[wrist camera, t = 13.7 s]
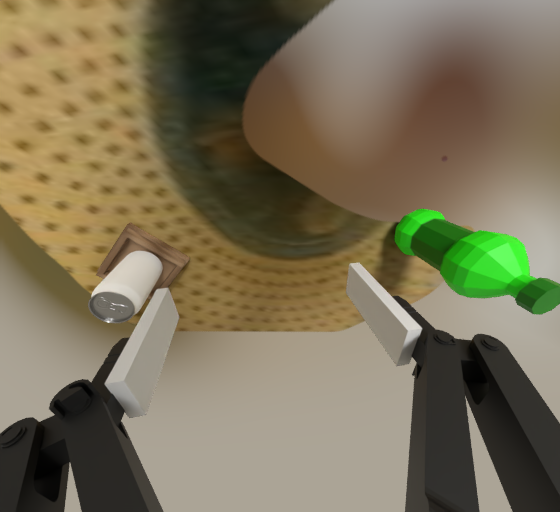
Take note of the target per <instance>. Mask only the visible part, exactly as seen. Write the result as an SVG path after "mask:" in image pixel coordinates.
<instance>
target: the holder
mask: <svg viewBox="0 0 560 512" xmlns="http://www.w3.org/2000/svg"><path fill="white" fill-rule="evenodd" d="M134 251H146V252H149V253H152V254H154V255H155V256H156V257H157V258H158V259H159V260H160V261H161V263H162V266H163V270H162V273H161V275H160V277H159V279H158V280H157V282H156V284H155V285H154V287H153V289H152V291H151V292H150V294H149V296H148V298H147V299H149V300H151V299H152V297H153V295H154V293H155V291H156V290H157V289H162V288H167V287H168V286H169V285H170V284H171V282H172V281H173V280H174V279H175V277H176V276H177V275H178V274H179V272H180V271H181V270H182V269H183V267H184V266H185V265H186V263H187V262H188V261H189V259H190V257H188V256H186V255H185V254H183V253H181V252H179V251H178V250H176V249H174V248H173V247H171V246H169V245H167V244H166V243H164V242H162V241H161V240H159V239H157V238H155V237H154V236H152V235H150V234H149V233H147V232H145V231H144V230H142V229H140V228H138V227H137V226H135V225H133V224H132V223H129V224H127V226H126V227H125V229H124V230H123V232H122V234H121V235H120V237H119V238H118V240H117V241H116V243H115V244H114V246H113V247H112V249H111V250H110V252H109V254H108V255H107V257H106V258H105V260H104V261H103V263H102V264H101V266H100V267H99V269H98V270H97V271H98V273H97V276H99V277H101V278H103V279H105V278H106V276H107V275H108V274H109V273H110V272H111V271H112V270H113V269H114V268H115V267H116V266H117V265H118V264H119V263H120V262H121V261H122V260H123V259H124V258H125V257H126V256H127V255H128V254H130V253H131V252H134Z"/></svg>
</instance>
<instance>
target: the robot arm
mask: <svg viewBox="0 0 560 512" xmlns="http://www.w3.org/2000/svg"><path fill="white" fill-rule="evenodd" d="M346 294H347V295H348V296H349V298H350V299H351V301H352V302H353V304H354V305H355V307H356V308H357V309H358V311H359V312H360V314H361V315H362V317H363V318H364V320H365V321H366V323H367V324H368V325H369V327H370V328H371V330H372V331H373V332H374V334H375V336H376V337H377V338H378V340H379V341H380V343H381V344H382V346H383V347H384V348H385V350H386V351H387V353H388V354H389V356H390V357H391V359H392V360H393V362H394V363H395V364H396V366H400V365H405V364H409V363H410V360H411V358H412V357H413V358H414V360H415V361H416V362H417V364H416V366H415V368H414V371H413V374H412V375H413V376H414V375H415V378H414V392H413V406H412V407H413V408H412V422H411V435H410V449H409V464H408V478H407V492H406V507H405V512H479V504H478V496H477V488H476V480H475V472H474V464H473V456H472V448H471V440H470V432H469V423H468V416H467V407H466V399H465V396H466V398H467V401H468V403H469V406H470V408H471V411H472V413H473V415H474V418H475V420H476V423H477V425H478V428H479V430H480V432H481V435H482V437H483V440H484V442H485V445H486V447H487V450H488V452H489V455H490V457H491V460H492V462H493V464H494V467H495V469H496V472H497V474H498V477H499V479H500V482H501V484H502V486H503V489H504V492H505V494H506V496H507V499H508V501H509V504H510V506H511V509H512V511H513V512H560V423H559V422H558V420H557V419H556V417H555V416H554V415H553V413H552V412H551V410H550V409H549V407H548V406H547V404H546V403H545V401H544V400H543V399H542V397H541V396H540V394H539V393H538V391H537V390H536V388H535V387H534V386H533V384H532V383H531V381H530V380H529V378H528V377H527V375H526V374H525V373H524V371H523V370H522V368H521V367H520V365H519V364H518V363H517V361H516V360H515V358H514V357H513V355H512V354H511V353H510V351H509V350H508V348H507V347H506V346H505V345H504V344H503V343H502V342H501V341H499V340H498V339H496V338H494V337H491V336H489V335H485V334H477V335H475V336H474V337H473V339H472V340H461V339H455V338H454V337H453V336H451V335H450V334H449V333H447V332H444V331H440V330H435V329H434V328H433V327H432V326H431V325H430V324H429V323H428V322H427V321H426V320H425V319H424V318H423V317H422V316H421V315H420V314H419V313H418V312H416V310H415V309H414V308H413V307H411V305H410V304H409V303H408V302H407V301H406V300H404V299H402V298H401V297H399V296H391V295H390V294H389V293H388V292H387V291H386V290H385V289H384V288H383V287H382V286H381V285H380V284H379V283H378V282H377V281H376V280H375V279H374V278H373V277H372V276H371V275H370V274H369V273H368V271H367V270H366V269H365V268H364V267H363V266H362V265H361V264H360V263H352V264H349V272H348V280H347V288H346ZM178 320H179V315H178V312H177V310H176V307H175V304H174V301H173V299H172V296H171V293H170V290H169V288H162V289H157V290H156V291H155V293H154V295H153V297H152V299H151V300H150V302H149V304H148V306H147V308H146V309H145V311H144V313H143V315H142V317H141V319H140V320H139V322H138V324H137V326H136V328H135V330H134V331H133V333H132V335H131V337H129V338H122V339H121V340H120V341H119V342H118V343H117V344H116V345H114V346H113V348H112V349H111V351H110V353H109V354H108V357H107V358H106V359H105V361H104V364H103V365H102V366H101V368H100V369H99V371H98V372H97V374H96V376H95V377H94V379H93V381H92V382H90V381H89V380H83V379H82V380H78V381H75V382H73V383H71V384H69V385H67V386H66V387H64V388H63V389H62V390H61V391H59V392H58V393H57V394H56V395H55V396H54V398H53V399H52V401H51V403H50V407H49V409H50V410H51V411H52V412H53V413H54V414H55V415H54V416H52V417H50V418H47V419H45V420H43V421H41V422H38V421H37V420H36V419H34V418H25V419H22V420H20V421H17V422H16V423H14V424H13V425H11V426H9V427H8V428H7V429H5V430H4V431H3V432H2V433H1V434H0V512H64V507H65V499H66V489H67V481H68V472H69V462H70V463H71V467H72V471H73V476H74V480H75V484H76V488H77V492H78V497H79V501H80V506H81V510H82V512H163V510H162V507H161V505H160V503H159V501H158V499H157V497H156V494H155V492H154V490H153V488H152V486H151V484H150V481H149V479H148V477H147V475H146V473H145V470H144V469H143V466H142V464H141V462H140V460H139V458H138V455H137V453H136V451H135V449H134V447H133V445H132V442H131V440H130V438H129V436H128V434H127V431H126V429H125V427H124V425H123V423H122V422H121V419H122V417H123V414H124V412H125V413H126V414H127V416H128V417H129V418H133V417H138V416H143V415H146V414H147V411H148V408H149V405H150V402H151V399H152V396H153V394H154V391H155V388H156V385H157V382H158V379H159V376H160V373H161V370H162V367H163V364H164V361H165V358H166V355H167V352H168V349H169V346H170V343H171V340H172V337H173V335H174V332H175V329H176V326H177V323H178Z"/></svg>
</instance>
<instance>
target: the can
mask: <svg viewBox="0 0 560 512" xmlns="http://www.w3.org/2000/svg"><path fill="white" fill-rule="evenodd" d="M162 270H163V266H162V263H161V261H160V260H159V259H158V258H157V257H156V256H155V255H154V254H152V253H149V252H146V251H134V252H131V253H130V254H128V255H127V256H126V257H125V258H124V259H123V260H122V261H121V262H120V263H119V264H118V265H117V266H116V267H115V268H114V269H113V270H112V271H111V272H110V273H109V274H108V275H107V276H106V278H105V279H104V280H103V281H102V282H101V283H100V284H99V285H98V286H97V287H96V288H95V290H94V291H93V293H92V297H91V298H90V300H89V303H88V307H89V310H90V312H91V313H92V314H93V315H94V316H95V317H97V318H98V319H100V320H102V321H105V322H109V323H122V322H125V321H128V320H129V319H131V318H132V317H133V315H135V314H136V313H137V312H138V311H139V310H140V309H141V307H142V306H143V304H144V303H145V301H146V299H147V298H148V296H149V294H150V292H151V291H152V289H153V287H154V285H155V284H156V282H157V280H158V279H159V277H160V275H161V273H162Z"/></svg>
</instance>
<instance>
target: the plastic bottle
mask: <svg viewBox="0 0 560 512" xmlns="http://www.w3.org/2000/svg"><path fill="white" fill-rule="evenodd" d="M394 241H395V243H396V244H397V246H398V247H399V248H400V250H401V251H402V252H403V253H404V254H407V255H413V256H418V257H419V258H421V259H422V260H424V261H425V262H427V263H428V264H430V265H431V266H433V267H434V268H436V269H437V270H439V271H440V274H441V275H442V277H443V278H444V280H445V282H446V283H447V284H448V286H449V287H450V288H451V289H452V290H454V291H455V292H456V293H458V294H459V295H463V296H466V297H470V298H491V297H499V296H504V295H511V296H513V297H514V298H515V300H516V303H517V305H519V306H521V307H522V308H524V309H526V310H527V311H529V312H531V313H532V314H543V313H546V312H548V311H550V310H552V309H554V308H555V307H556V306H557V305H559V304H560V284H558V283H556V282H554V281H552V280H550V279H547V278H538V279H536V278H534V277H532V276H530V269H529V262H528V256H527V253H526V250H525V246H524V244H522V243H521V242H520V241H519V240H518V239H517V238H515V237H512V236H509V235H507V234H500V233H494V232H488V231H481V230H480V231H477V232H473V231H470V230H468V229H465V228H463V227H460V226H458V225H455V224H453V223H450V222H448V221H446V220H445V219H444V217H443V215H442V214H441V213H440V212H437V211H433V210H426V209H418V210H416V211H414V212H412V213H410V214H408V215H406V216H404V217H403V218H402V220H401V221H400V222H399V223H398V225H397V226H396V231H395V237H394Z"/></svg>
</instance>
